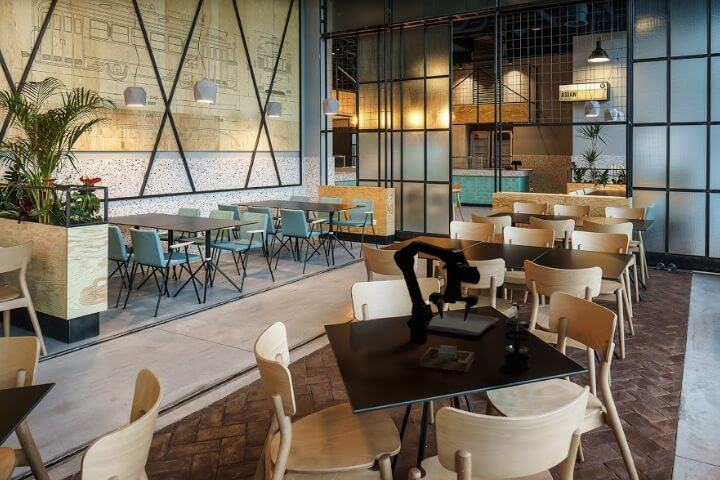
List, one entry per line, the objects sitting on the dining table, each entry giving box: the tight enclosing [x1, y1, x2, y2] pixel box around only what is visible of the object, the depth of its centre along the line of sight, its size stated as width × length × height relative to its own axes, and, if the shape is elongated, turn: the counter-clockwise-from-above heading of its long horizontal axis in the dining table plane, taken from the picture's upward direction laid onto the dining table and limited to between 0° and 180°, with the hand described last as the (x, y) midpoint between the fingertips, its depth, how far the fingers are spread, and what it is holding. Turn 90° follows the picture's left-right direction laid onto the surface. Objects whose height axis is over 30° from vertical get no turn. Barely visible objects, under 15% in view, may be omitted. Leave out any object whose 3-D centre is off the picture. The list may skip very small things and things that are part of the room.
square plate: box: [427, 311, 500, 337], centre depth 266 cm, size 27×27×4 cm
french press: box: [502, 303, 532, 371], centre depth 215 cm, size 12×9×23 cm
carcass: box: [419, 347, 475, 373], centre depth 219 cm, size 17×13×4 cm
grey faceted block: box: [438, 344, 458, 360], centre depth 219 cm, size 6×9×4 cm, turn 167°
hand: (453, 319), depth 234 cm, fingers open, 9 cm apart
